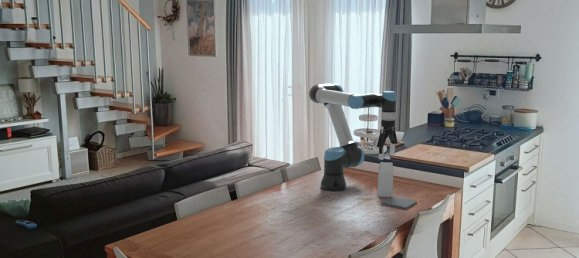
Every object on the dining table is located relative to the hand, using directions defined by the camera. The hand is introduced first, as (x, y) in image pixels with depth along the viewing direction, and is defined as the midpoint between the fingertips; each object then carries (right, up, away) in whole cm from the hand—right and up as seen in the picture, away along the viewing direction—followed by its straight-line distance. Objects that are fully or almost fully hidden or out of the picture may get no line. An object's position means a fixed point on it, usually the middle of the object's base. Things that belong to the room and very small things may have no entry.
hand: (386, 157), depth 291 cm
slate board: (+5, -24, -11) cm, 27 cm away
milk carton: (0, -22, +4) cm, 22 cm away
